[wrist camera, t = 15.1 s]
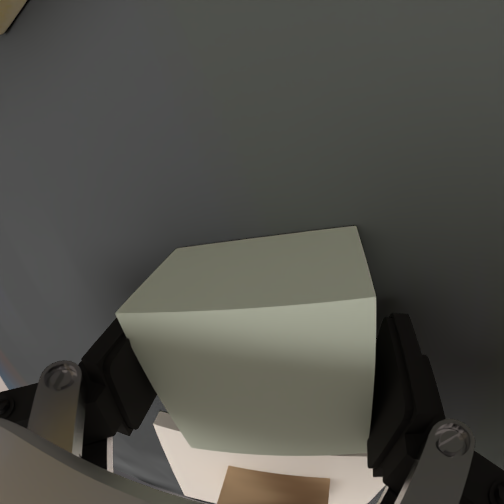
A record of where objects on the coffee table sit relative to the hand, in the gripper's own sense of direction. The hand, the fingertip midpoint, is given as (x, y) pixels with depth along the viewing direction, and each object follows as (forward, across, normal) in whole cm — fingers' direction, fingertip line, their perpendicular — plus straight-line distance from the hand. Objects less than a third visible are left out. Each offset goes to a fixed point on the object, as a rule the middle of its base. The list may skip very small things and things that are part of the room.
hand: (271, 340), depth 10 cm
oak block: (0, -1, +14) cm, 14 cm away
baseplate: (+1, -1, +14) cm, 14 cm away
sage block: (+1, 0, 0) cm, 1 cm away
